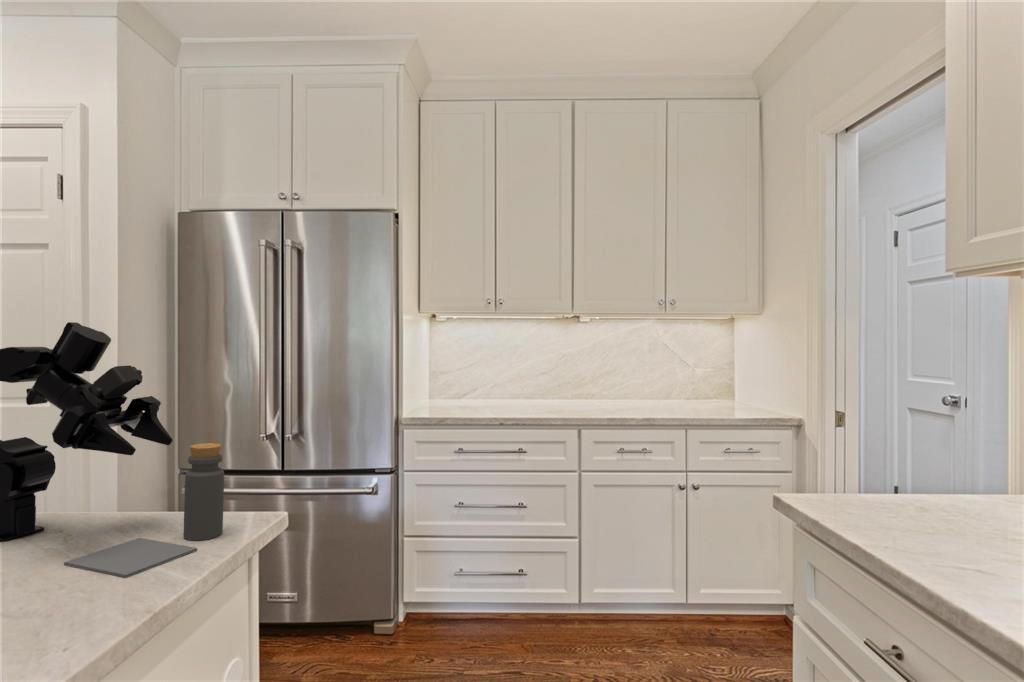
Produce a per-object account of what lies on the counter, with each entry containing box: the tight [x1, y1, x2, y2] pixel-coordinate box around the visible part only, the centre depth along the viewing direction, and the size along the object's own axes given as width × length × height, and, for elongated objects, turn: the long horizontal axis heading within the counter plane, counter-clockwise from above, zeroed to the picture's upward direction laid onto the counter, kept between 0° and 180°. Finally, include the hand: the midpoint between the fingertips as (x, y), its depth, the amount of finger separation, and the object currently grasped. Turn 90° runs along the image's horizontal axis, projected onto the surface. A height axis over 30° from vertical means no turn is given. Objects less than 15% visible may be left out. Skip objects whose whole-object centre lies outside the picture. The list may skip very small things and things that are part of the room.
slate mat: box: [63, 537, 198, 579], centre depth 92 cm, size 12×12×1 cm
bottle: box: [183, 442, 225, 541], centre depth 103 cm, size 6×6×15 cm
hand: (153, 447), depth 99 cm, fingers open, 9 cm apart
